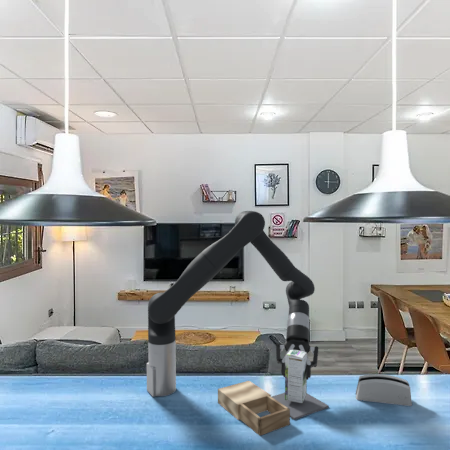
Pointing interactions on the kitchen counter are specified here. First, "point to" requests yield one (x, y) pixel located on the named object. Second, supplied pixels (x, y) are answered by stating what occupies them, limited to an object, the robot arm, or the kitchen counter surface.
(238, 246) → the robot arm
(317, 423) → the kitchen counter surface
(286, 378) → the syrup box
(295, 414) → the mat
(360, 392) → the grey arched block
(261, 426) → the wooden drawer box
